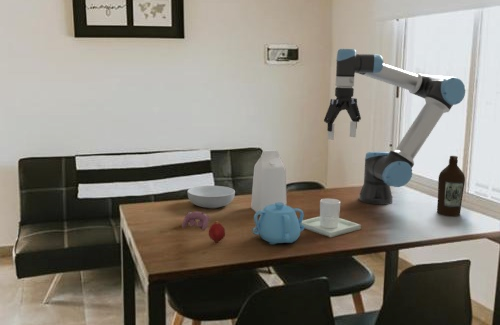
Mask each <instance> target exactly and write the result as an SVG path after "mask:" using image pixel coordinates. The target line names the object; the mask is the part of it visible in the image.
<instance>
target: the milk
mask: <svg viewBox="0 0 500 325" xmlns="http://www.w3.org/2000/svg"><path fill="white" fill-rule="evenodd" d="M278 151H279V150H277V149H272V150H271V149H268V150H262V152H261V155H260V157H259V158H258V159H257V161H256V163H255V164H254V168H253V178H252V190H251V204H250V209H252V210H253V211H254V212H255V213H256V212H258V211H260V210H263V209H264V208H265V207H266V206H269V205H271V204H274V205H275V203H278V202H280V203H284V205H286V206H287V170H286V166H285V164H284V163H283V161H282V159H281V157H280V154H279V152H278ZM260 215H261V214H259V215H258V216H260Z"/></svg>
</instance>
